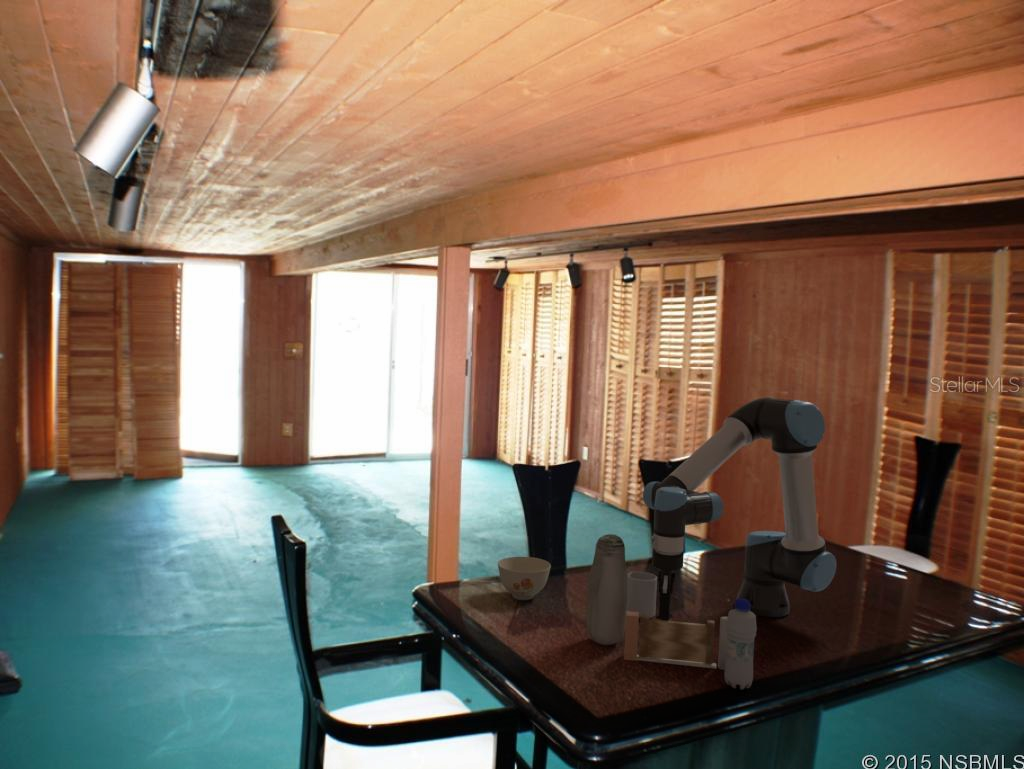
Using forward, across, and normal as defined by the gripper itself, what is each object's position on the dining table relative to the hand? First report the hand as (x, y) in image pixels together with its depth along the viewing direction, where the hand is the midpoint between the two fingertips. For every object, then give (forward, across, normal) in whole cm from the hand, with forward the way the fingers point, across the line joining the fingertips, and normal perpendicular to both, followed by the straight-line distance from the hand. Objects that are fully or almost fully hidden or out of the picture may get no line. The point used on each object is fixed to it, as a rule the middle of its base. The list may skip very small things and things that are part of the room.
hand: (663, 643), depth 188 cm
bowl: (+4, -29, -44) cm, 53 cm away
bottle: (+3, +11, +18) cm, 21 cm away
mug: (+4, -29, -10) cm, 31 cm away
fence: (+3, +3, +4) cm, 6 cm away
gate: (+2, +4, +3) cm, 5 cm away
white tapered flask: (+3, -3, -15) cm, 15 cm away
